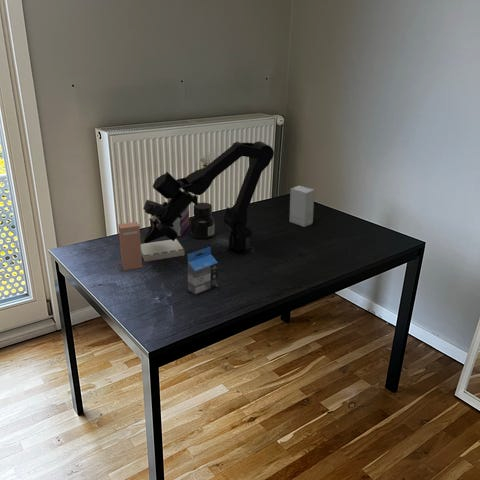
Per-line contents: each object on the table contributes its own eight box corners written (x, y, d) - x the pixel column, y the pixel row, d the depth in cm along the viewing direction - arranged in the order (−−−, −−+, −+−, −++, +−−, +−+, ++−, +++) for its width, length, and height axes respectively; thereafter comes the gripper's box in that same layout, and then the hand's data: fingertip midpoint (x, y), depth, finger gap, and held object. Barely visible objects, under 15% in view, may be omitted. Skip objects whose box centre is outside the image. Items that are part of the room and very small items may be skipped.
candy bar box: (177, 224, 192) (176, 185, 185) (189, 225, 191) (189, 186, 184) (168, 235, 182) (167, 194, 175) (181, 236, 181) (180, 195, 174)
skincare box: (312, 224, 196) (316, 189, 190) (303, 227, 192) (306, 192, 186) (297, 218, 201) (299, 184, 195) (287, 221, 198) (290, 187, 191)
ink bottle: (215, 239, 179) (215, 210, 174) (191, 240, 178) (191, 210, 173) (213, 229, 188) (213, 200, 183) (190, 230, 187) (190, 201, 182)
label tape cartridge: (195, 295, 143) (194, 259, 138) (187, 290, 146) (186, 254, 140) (218, 286, 148) (218, 250, 143) (210, 281, 151) (210, 246, 146)
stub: (139, 262, 161) (137, 221, 154) (142, 267, 158) (139, 225, 151) (121, 265, 158) (118, 224, 152) (123, 270, 155) (120, 228, 149)
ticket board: (176, 243, 175) (176, 238, 174) (184, 255, 167) (184, 249, 166) (138, 249, 170) (138, 244, 169) (144, 261, 162) (144, 256, 161)
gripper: (150, 183, 159) (120, 218, 160) (165, 201, 144) (132, 240, 144) (174, 202, 165) (145, 236, 166) (191, 222, 150) (158, 259, 150)
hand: (144, 242), depth 156 cm, fingers closed
